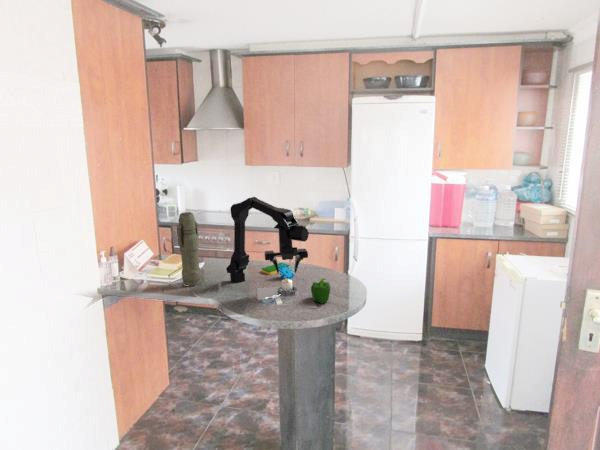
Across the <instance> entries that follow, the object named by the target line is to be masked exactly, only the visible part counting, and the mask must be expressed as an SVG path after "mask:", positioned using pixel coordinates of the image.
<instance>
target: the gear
mask: <svg viewBox="0 0 600 450" xmlns="http://www.w3.org/2000/svg"><path fill="white" fill-rule="evenodd" d="M285 264H286V263H284V265H283V264H281V265H280V266H279V267H278V268H279V269H278V270H279V276H280V278H282V279H283V280H284V279H286V278H287V279H290V280H292V279H293V278H295V272H294V268H291V266H290V267H289V266H288V267H287V268H286V265H285ZM283 266H284V267H283Z"/></svg>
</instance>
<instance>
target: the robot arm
mask: <svg viewBox="0 0 600 450" xmlns="http://www.w3.org/2000/svg"><path fill="white" fill-rule="evenodd" d="M252 209H254V210H256V211H259V212H261V213H263V214H265V215H267V216H269V217H271V219H272V220H273V221H274V222H275V223H276V225H275V226H274V227H273V228H274V229H278V247H279V248H278V249H279V252H275V251H274V250H265V251H264V259H265V261H269V262H271V263H272V264H273V265H275V268H276V270H277V273H276V274H279V275H280V272H279V270H278V265H277V264H278V259H277V258H281V259H282V260H283V261H287V260H294V274H295V273H297V271H298V268H299V264H300V262H301V261H303V260H304V259H307V258H309V255H308V254H309V252H308V250H307V249H306V248H298V247H296V246H295V247H293V241H298V242H307V240H308V239H309V229H308V228H306V227H307V226H306V225H305V224H301V225H299V222H298V220H297V219H296V217H295V216H294V214H293V211H292V210H291V209H288V208H284V207H283V208H282V207H277V206H274V205H272V204H270V203H268V202H266V201H264V200H261V199H259V198H258V197H256V196H252V197H248V198H246V199H245V200H242V201H241V202H237V203H233V204H232V205H231V207H230V216H231V218H232V220H233V222H234V223H233V224H234V227H233V228H234V232H233V234H234V235H233V236H234V237H233V238H234V239H233V240H234V241H233V243H234V247H233V252H232V255H231V257H230V264H229V265H228V266H227V267H226V272H227V273H229V275H230V277H229V279H230V283H233V284H240V283H244V282H246V273H245V272H244V271H245V270H247V266H248V265H249V263H250V254H249V253H247V252H246V250H245V249H246V247H245V246H246V221H247V219H248V217H249V213H250V210H252Z"/></svg>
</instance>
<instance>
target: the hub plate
mask: <svg viewBox="0 0 600 450" xmlns="http://www.w3.org/2000/svg"><path fill="white" fill-rule="evenodd" d="M292 288H293V291H290V292H283V291H282V285H281V286H269V287H257V288H256V294H257V295H256V297H257V301H259V300H260V301H261V300H262V301H263V300H264V299H263V298H265V297H271V296H273V295H279V294H281V295H280V296H279V297H277V298H272V299H287V298H288V299H289V298H298V297H300V294H299V292H298V288H297V286H296V285H292ZM272 299H271V300H272Z"/></svg>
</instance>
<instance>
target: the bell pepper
mask: <svg viewBox="0 0 600 450" xmlns="http://www.w3.org/2000/svg"><path fill="white" fill-rule="evenodd" d="M325 280H327V278H326V277H322V278H321V279H320V281H318V282H316V281H315V282H312V284H311V287H310V291H311V295H312V299H313V300H314V302H315V303H319V304H325V303H327V302H328V301H329V299H330V294H331V285H330V282H326V281H325Z"/></svg>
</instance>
